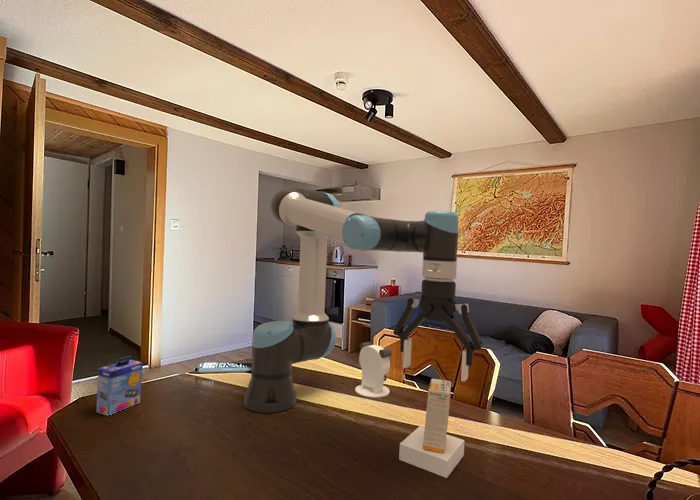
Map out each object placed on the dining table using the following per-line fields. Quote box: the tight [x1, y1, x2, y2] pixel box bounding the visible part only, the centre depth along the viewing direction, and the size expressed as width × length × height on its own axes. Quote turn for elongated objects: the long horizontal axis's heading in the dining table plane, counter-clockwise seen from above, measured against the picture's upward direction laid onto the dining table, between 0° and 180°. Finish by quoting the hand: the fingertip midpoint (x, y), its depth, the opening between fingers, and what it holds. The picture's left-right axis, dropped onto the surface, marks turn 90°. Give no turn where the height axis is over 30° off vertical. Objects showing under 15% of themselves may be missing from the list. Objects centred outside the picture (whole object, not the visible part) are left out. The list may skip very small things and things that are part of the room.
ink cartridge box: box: [95, 355, 143, 417], centre depth 104 cm, size 10×6×14 cm, turn 158°
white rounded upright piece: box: [354, 341, 393, 399], centre depth 124 cm, size 12×11×15 cm
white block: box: [398, 425, 465, 479], centre depth 85 cm, size 11×11×4 cm
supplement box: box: [423, 378, 452, 453], centre depth 85 cm, size 8×5×13 cm, turn 163°
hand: (434, 372), depth 86 cm, fingers open, 13 cm apart
